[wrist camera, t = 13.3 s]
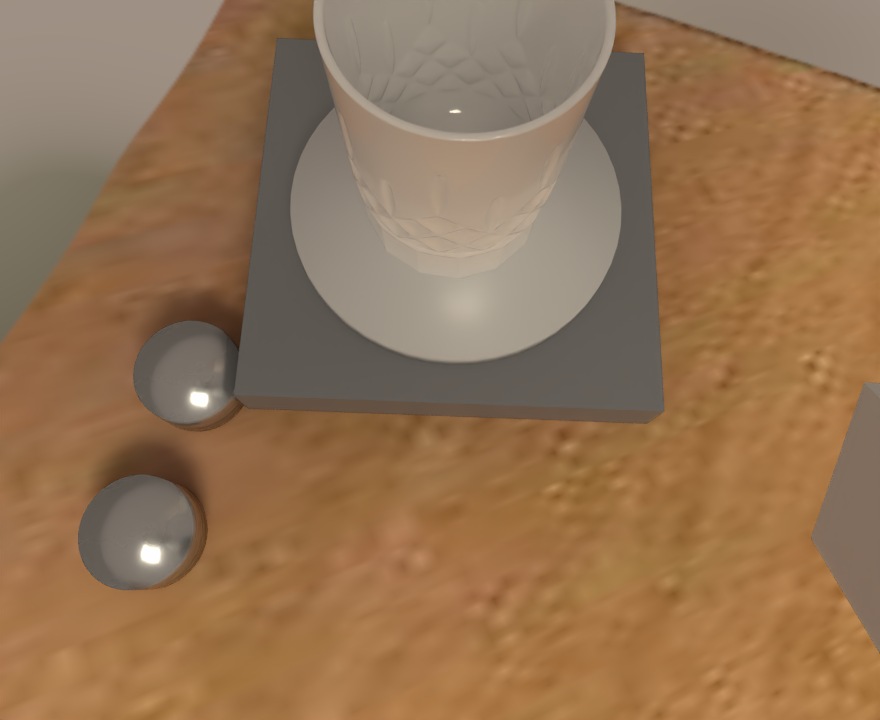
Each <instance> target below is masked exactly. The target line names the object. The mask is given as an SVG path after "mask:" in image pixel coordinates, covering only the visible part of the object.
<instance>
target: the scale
mask: <svg viewBox="0 0 880 720" xmlns="http://www.w3.org/2000/svg"><path fill="white" fill-rule="evenodd" d="M234 396H235V397H236V398H237V399H238V400H239V401H241V402H242V403H243V404H244V405H245V406H246V407H247V408H249V409H276V410H302V411H329V412H355V413H382V414H408V415H435V416H461V417H488V418H514V419H541V420H567V421H594V422H620V423H649V422H650V421H651V420H653V419H654V418H656V417H657V416H659V415H660V414H661V413H663V412H664V396H663V378H662V361H661V343H660V326H659V308H658V291H657V273H656V256H655V238H654V221H653V203H652V186H651V168H650V151H649V133H648V116H647V98H646V81H645V64H644V53H626V52H611V54H610V57H609V60H608V62H607V65H606V67H605V69H604V72H603V74H602V76H601V79H600V81H599V83H598V86H597V88H596V90H595V93H594V95H593V97H592V100H591V102H590V105H589V107H588V109H587V112H586V114H585V117H584V119H583V121H582V124H581V126H580V129H579V131H578V133H577V136H576V138H575V140H574V142H573V145H572V147H571V149H570V152H569V154H568V156H567V159H566V161H565V164H564V166H563V168H562V171H561V174H560V176H559V178H558V180H557V182H556V184H555V186H554V187H553V189H552V192H551V194H550V197H549V199H548V200H547V202H546V203H545V204H544V206H543V207H542V208H541V210H540V211H539V213H538V215H537V217H536V220H535V222H534V225H533V227H532V230H531V232H530V234H529V237H528V239H527V242H526V244H525V245H524V246H523V247H522V248H521V249H519V250H518V251H517V252H516V253H515V254H513V255H512V256H511V257H510V258H509V259H507V260H506V261H505V262H504V263H503V264H502V265H500V266H499V267H498V268H497V269H494V270H490V271H487V272H483V273H479V274H475V275H472V276H468V277H464V278H460V279H455V278H449V277H442V276H436V275H430V274H423V273H419V272H417V271H415V270H414V269H412V268H411V267H409V266H408V265H406V264H405V263H403V262H402V261H400V260H399V259H397V258H396V257H394V256H393V255H391V254H390V253H388V252H387V251H386V250H385V248H384V246H383V244H382V243H381V241H380V239H379V238H378V236H377V234H376V233H375V231H374V229H373V227H372V226H371V224H370V222H369V221H368V218H367V214H366V210H365V206H364V202H363V199H362V196H361V194H360V192H359V189H358V186H357V184H356V181H355V178H354V175H353V171H352V167H351V163H350V160H349V157H348V154H347V152H346V148H345V145H344V141H343V138H342V134H341V130H340V126H339V122H338V118H337V115H336V111H335V107H334V103H333V99H332V96H331V92H330V88H329V85H328V81H327V77H326V74H325V70H324V66H323V63H322V59H321V55H320V52H319V48H318V45H317V41H316V40H310V39H285V38H277V43H276V51H275V60H274V68H273V76H272V84H271V93H270V101H269V109H268V117H267V126H266V134H265V142H264V150H263V158H262V167H261V175H260V183H259V191H258V200H257V208H256V216H255V224H254V232H253V241H252V249H251V257H250V265H249V274H248V282H247V290H246V298H245V306H244V315H243V323H242V331H241V339H240V348H239V356H238V364H237V372H236V380H235V389H234Z"/></svg>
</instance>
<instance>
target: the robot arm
mask: <svg viewBox="0 0 880 720" xmlns="http://www.w3.org/2000/svg"><path fill="white" fill-rule="evenodd" d="M811 539H812V541H813V543H814V544H815V546H816V548H817V549H818V551H819V553H820V554H821V556H822V558H823V559H824V561H825V563H826V564H827V566H828V568H829V569H830V571H831V573H832V574H833V576H834V578H835V579H836V581H837V583H838V584H839V586H840V588H841V589H842V591H843V593H844V594H845V596H846V598H847V599H848V601H849V603H850V604H851V606H852V608H853V610H854V611H855V613H856V615H857V616H858V618H859V620H860V621H861V623H862V625H863V626H864V628H865V630H866V631H867V633H868V635H869V636H870V638H871V640H872V641H873V643H874V645H875V646H876V648H877V650H878V651H879V653H880V383H864V385H863V388H862V391H861V393H860V396H859V399H858V402H857V405H856V408H855V411H854V414H853V417H852V420H851V423H850V426H849V428H848V431H847V434H846V437H845V440H844V443H843V446H842V449H841V452H840V455H839V458H838V461H837V464H836V466H835V469H834V472H833V475H832V478H831V481H830V484H829V487H828V490H827V493H826V496H825V499H824V501H823V504H822V507H821V510H820V513H819V516H818V519H817V522H816V525H815V528H814V531H813V534H812V536H811Z"/></svg>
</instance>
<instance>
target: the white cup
mask: <svg viewBox="0 0 880 720" xmlns="http://www.w3.org/2000/svg"><path fill="white" fill-rule="evenodd" d="M313 24H314V31H315V37H316V41H317V45H318V48H319V52H320V55H321V59H322V63H323V66H324V70H325V74H326V77H327V81H328V85H329V88H330V92H331V96H332V99H333V103H334V107H335V111H336V115H337V118H338V122H339V126H340V130H341V134H342V138H343V141H344V145H345V148H346V152H347V154H348V157H349V160H350V163H351V167H352V171H353V175H354V178H355V181H356V184H357V186H358V189H359V192H360V194H361V196H362V199H363V202H364V206H365V210H366V214H367V218H368V221H369V222H370V224H371V226H372V227H373V229H374V231H375V233H376V234H377V236H378V238H379V239H380V241H381V243H382V244H383V246H384V248H385V250H386V251H387V252H388V253H390V254H391V255H393V256H394V257H396V258H397V259H399V260H400V261H402V262H403V263H405V264H406V265H408V266H409V267H411V268H412V269H414V270H415V271H417V272H419V273H423V274H430V275H436V276H442V277H449V278H455V279H460V278H464V277H468V276H472V275H475V274H479V273H483V272H487V271H490V270H494V269H497V268H498V267H499V266H500V265H502V264H503V263H504V262H505V261H506V260H507V259H509V258H510V257H511V256H512V255H513V254H515V253H516V252H517V251H518V250H519V249H521V248H522V247H523V246H524V245H525V244H526V242H527V239H528V237H529V234H530V232H531V230H532V227H533V225H534V222H535V220H536V217H537V215H538V213H539V211H540V210H541V208H542V207H543V206H544V204H545V203H546V202H547V200H548V199H549V197H550V194H551V192H552V189H553V187H554V186H555V184H556V182H557V180H558V178H559V176H560V174H561V171H562V168H563V166H564V164H565V161H566V159H567V156H568V154H569V152H570V149H571V147H572V145H573V142H574V140H575V138H576V136H577V133H578V131H579V129H580V126H581V124H582V121H583V119H584V117H585V114H586V112H587V109H588V107H589V105H590V102H591V100H592V97H593V95H594V93H595V90H596V88H597V86H598V83H599V81H600V79H601V76H602V74H603V72H604V69H605V67H606V65H607V62H608V60H609V57H610V54H611V51H612V48H613V44H614V39H615V32H616V9H615V2H614V0H314V6H313Z"/></svg>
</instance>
